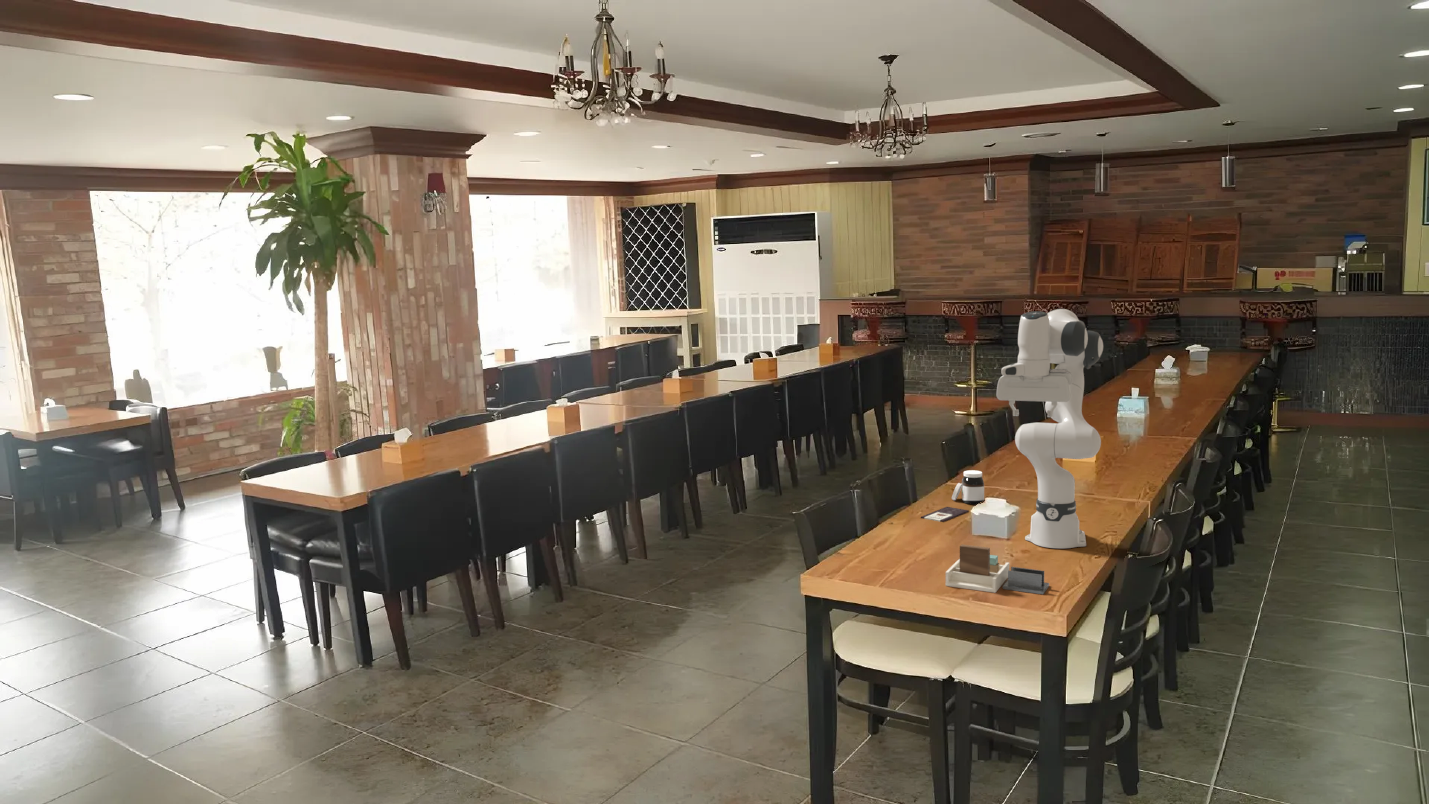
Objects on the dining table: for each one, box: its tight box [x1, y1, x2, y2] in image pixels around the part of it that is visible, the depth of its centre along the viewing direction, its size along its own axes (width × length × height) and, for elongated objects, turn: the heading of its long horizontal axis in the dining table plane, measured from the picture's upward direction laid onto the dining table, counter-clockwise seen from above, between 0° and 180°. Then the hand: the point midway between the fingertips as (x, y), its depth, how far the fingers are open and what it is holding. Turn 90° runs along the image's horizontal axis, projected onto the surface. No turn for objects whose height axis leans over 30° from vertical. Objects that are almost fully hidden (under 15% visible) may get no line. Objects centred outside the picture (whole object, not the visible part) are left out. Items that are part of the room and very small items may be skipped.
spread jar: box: [951, 469, 985, 505], centre depth 366 cm, size 12×11×12 cm
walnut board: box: [959, 544, 991, 576], centre depth 273 cm, size 2×8×10 cm, turn 60°
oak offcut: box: [990, 562, 1000, 573], centre depth 281 cm, size 3×9×3 cm, turn 60°
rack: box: [945, 557, 1010, 594], centre depth 277 cm, size 16×14×4 cm
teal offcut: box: [990, 554, 999, 565], centre depth 281 cm, size 3×7×2 cm, turn 60°
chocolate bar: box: [920, 506, 970, 523], centre depth 349 cm, size 9×1×18 cm
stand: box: [1002, 566, 1050, 595], centre depth 270 cm, size 8×11×5 cm
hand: (1032, 416), depth 278 cm, fingers open, 8 cm apart
